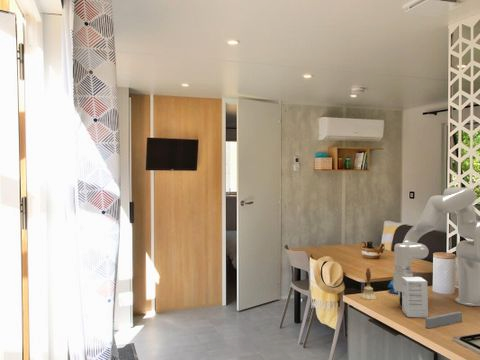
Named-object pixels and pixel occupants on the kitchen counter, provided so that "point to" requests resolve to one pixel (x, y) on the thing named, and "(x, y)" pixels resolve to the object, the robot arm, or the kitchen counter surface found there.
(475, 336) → the kitchen counter surface
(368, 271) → the hand bell
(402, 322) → the kitchen counter surface
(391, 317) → the kitchen counter surface
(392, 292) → the crystal
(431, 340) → the kitchen counter surface
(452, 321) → the gray rectangular bar
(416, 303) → the supplement box
